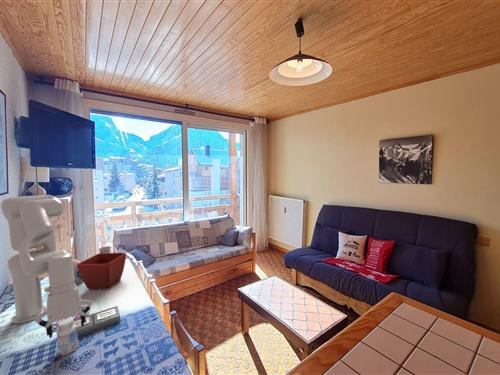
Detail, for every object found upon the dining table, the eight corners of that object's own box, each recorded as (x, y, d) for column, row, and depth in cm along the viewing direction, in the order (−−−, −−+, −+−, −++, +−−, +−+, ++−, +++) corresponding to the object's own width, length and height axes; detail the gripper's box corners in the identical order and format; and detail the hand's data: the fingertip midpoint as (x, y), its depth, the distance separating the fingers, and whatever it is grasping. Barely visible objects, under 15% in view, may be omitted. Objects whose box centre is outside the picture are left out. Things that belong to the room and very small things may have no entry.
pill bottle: (75, 341, 94) (73, 314, 94) (80, 348, 91) (77, 320, 90) (56, 350, 90) (54, 322, 89) (60, 358, 86) (58, 329, 85)
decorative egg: (76, 287, 141) (74, 263, 140) (57, 287, 142) (55, 263, 141) (91, 278, 153) (89, 256, 152) (73, 278, 154) (71, 256, 153)
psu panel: (64, 341, 94) (64, 333, 94) (66, 329, 102) (65, 321, 102) (120, 321, 106) (120, 314, 106) (117, 311, 114) (117, 305, 114)
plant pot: (100, 277, 153) (98, 252, 152) (128, 277, 153) (126, 252, 151) (78, 292, 134) (75, 264, 133) (110, 292, 134) (107, 264, 132)
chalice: (109, 270, 165) (107, 245, 164) (114, 272, 161) (112, 247, 160) (98, 274, 159) (96, 248, 157) (103, 276, 155) (101, 250, 154)
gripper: (30, 299, 80) (35, 346, 81) (90, 283, 90) (94, 325, 91) (33, 291, 86) (38, 335, 87) (90, 276, 97) (93, 316, 97)
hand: (67, 330), depth 89 cm, fingers open, 9 cm apart
